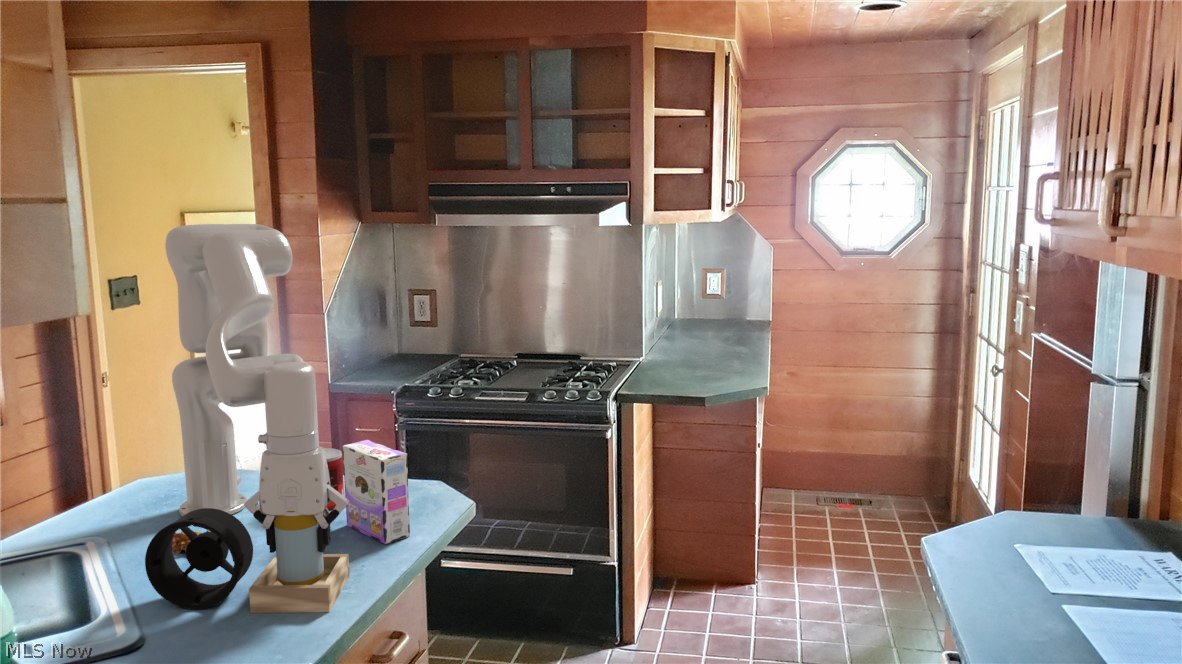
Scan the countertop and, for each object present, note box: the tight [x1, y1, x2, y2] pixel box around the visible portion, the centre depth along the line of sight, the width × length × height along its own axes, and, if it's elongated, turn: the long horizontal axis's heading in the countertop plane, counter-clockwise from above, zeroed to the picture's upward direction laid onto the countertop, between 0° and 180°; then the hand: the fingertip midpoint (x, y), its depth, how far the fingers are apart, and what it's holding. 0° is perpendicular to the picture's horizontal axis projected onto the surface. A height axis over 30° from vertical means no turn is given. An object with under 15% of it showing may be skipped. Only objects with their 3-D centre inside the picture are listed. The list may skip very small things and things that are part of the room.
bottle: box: [274, 497, 324, 585], centre depth 130 cm, size 7×7×15 cm
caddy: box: [248, 553, 350, 614], centre depth 131 cm, size 12×12×4 cm
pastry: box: [172, 529, 211, 555], centre depth 149 cm, size 7×12×4 cm, turn 66°
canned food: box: [323, 447, 345, 511], centre depth 169 cm, size 8×8×11 cm
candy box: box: [341, 439, 411, 545], centre depth 155 cm, size 14×6×16 cm, turn 47°
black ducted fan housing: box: [144, 508, 254, 610], centre depth 130 cm, size 14×14×10 cm
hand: (299, 548), depth 130 cm, fingers closed on bottle, 7 cm apart
